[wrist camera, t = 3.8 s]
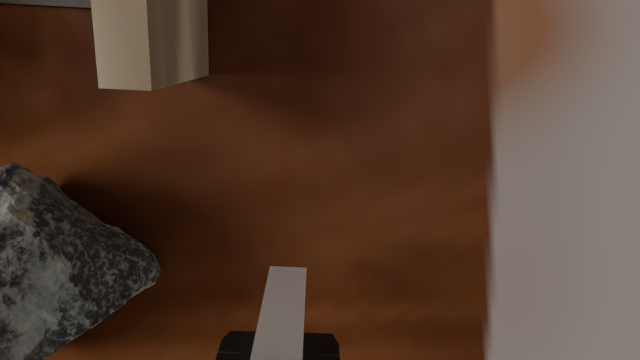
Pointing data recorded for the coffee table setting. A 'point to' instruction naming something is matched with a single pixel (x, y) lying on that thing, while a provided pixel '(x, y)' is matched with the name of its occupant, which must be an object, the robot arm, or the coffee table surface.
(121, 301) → the stone
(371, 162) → the coffee table surface
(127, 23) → the wooden wall enclosure
